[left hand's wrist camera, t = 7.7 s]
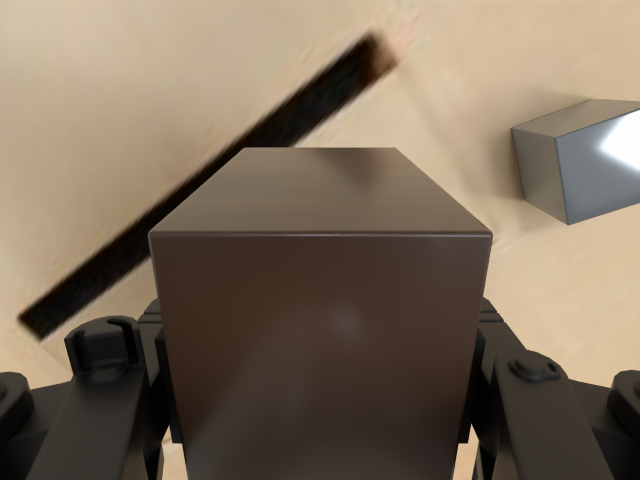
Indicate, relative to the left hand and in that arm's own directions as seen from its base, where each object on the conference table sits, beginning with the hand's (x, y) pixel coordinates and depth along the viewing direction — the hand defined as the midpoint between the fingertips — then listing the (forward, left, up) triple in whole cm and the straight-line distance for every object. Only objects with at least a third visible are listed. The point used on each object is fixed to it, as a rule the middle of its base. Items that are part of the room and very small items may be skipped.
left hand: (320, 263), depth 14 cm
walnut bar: (+9, 0, 0) cm, 9 cm away
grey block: (-2, +15, -13) cm, 20 cm away
